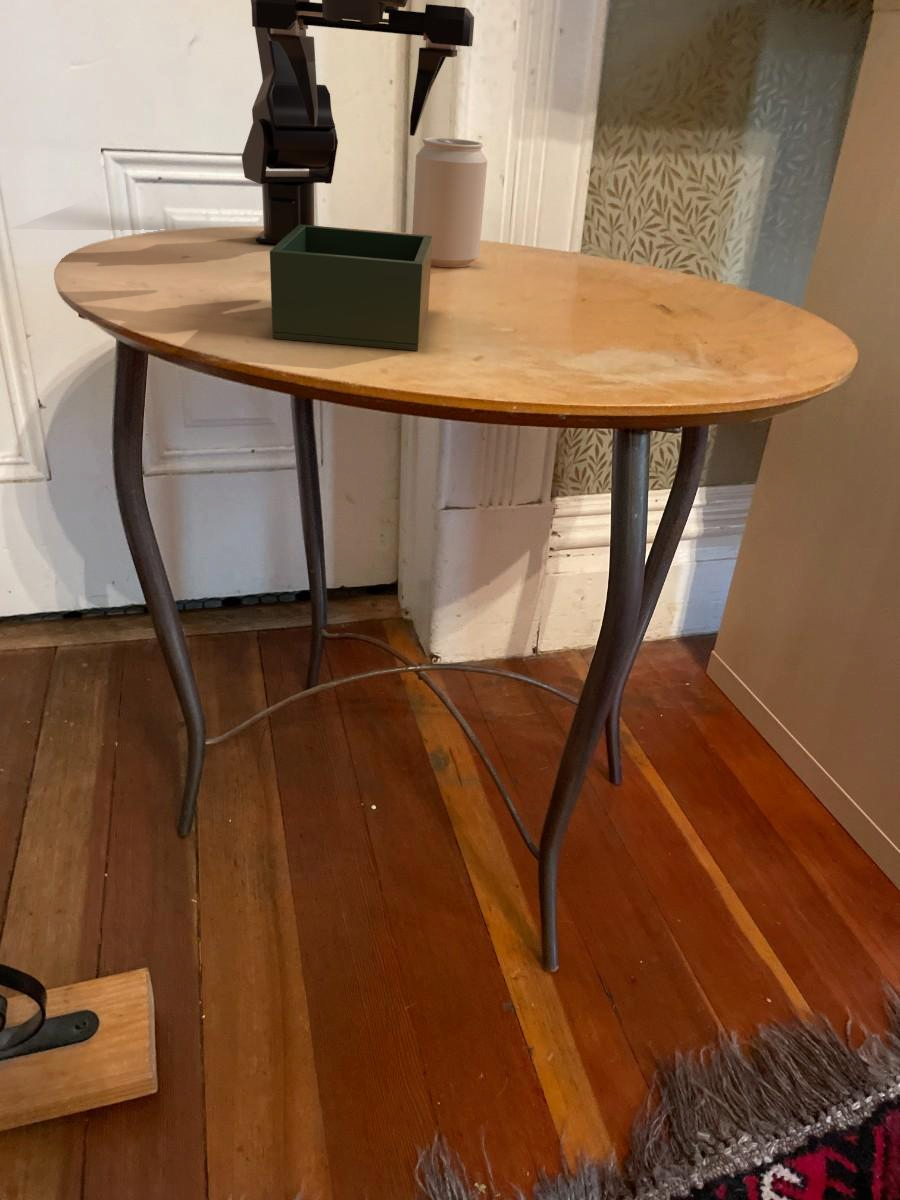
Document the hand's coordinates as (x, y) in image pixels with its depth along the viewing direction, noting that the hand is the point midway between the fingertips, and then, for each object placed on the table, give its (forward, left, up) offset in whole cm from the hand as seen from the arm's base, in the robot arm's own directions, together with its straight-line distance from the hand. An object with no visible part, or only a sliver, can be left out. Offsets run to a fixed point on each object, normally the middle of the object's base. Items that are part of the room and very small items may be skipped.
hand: (362, 130), depth 82 cm
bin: (+17, +2, -13) cm, 22 cm away
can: (-11, +8, -13) cm, 19 cm away
